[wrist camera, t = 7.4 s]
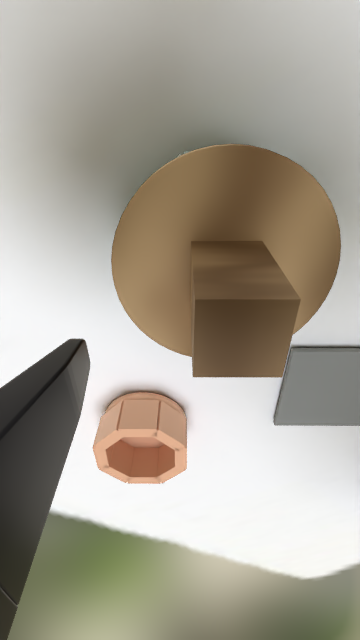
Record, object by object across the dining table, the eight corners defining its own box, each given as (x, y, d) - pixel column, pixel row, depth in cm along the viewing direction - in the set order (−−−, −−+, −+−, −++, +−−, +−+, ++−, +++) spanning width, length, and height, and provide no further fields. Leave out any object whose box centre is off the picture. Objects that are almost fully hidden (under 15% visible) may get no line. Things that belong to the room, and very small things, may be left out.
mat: (431, 348, 22) (435, 351, 22) (390, 421, 26) (393, 425, 26) (291, 348, 22) (293, 351, 22) (273, 421, 26) (274, 425, 26)
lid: (363, 143, 12) (494, 160, 7) (305, 350, 17) (354, 442, 12) (99, 144, 12) (41, 162, 7) (126, 350, 17) (103, 441, 12)
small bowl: (186, 392, 25) (186, 429, 22) (185, 446, 28) (186, 483, 25) (99, 392, 25) (87, 428, 22) (110, 445, 28) (101, 483, 26)
